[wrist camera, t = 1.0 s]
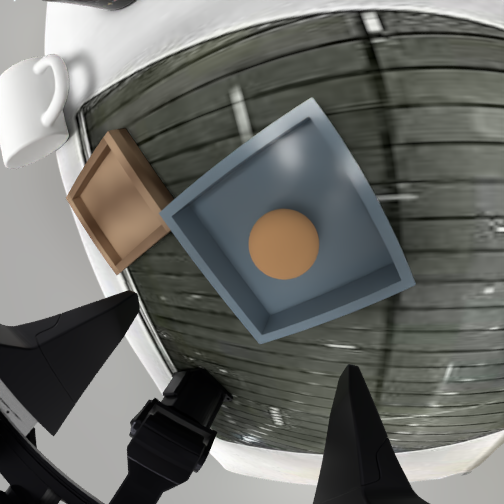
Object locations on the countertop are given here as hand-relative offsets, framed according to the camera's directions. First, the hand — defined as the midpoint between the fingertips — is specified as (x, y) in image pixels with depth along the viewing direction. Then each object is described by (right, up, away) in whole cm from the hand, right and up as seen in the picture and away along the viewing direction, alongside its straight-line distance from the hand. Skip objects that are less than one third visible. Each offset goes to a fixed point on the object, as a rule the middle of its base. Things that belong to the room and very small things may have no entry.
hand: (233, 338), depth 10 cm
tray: (-11, +8, +14) cm, 19 cm away
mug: (-20, +20, +11) cm, 30 cm away
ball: (+3, +4, +7) cm, 9 cm away
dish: (+4, +5, +10) cm, 12 cm away
